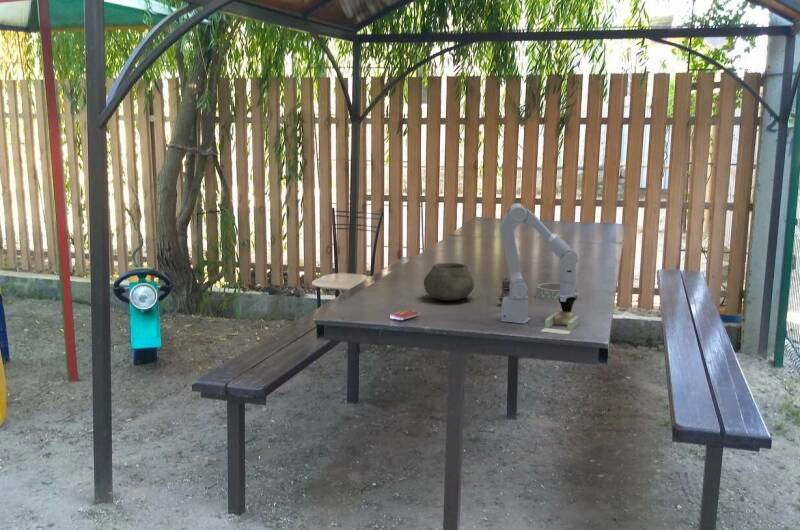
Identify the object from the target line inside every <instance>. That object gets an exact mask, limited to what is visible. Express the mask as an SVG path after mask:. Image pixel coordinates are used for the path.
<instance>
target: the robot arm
mask: <svg viewBox="0 0 800 530" xmlns="http://www.w3.org/2000/svg"><path fill="white" fill-rule="evenodd" d="M522 223H524V224H525V225H528V226H529V225H531V226H532V227H533V229H535V230H536V231H537V232H538V233H539V234H540V235H541V236H542V237H543V238H544V239H545V245H546V246H547V248H549V250H551V252H553V254H554V255H555V256H556V257H559V259H560V261H561V262H560V270H559V271H560V273H559V275H560V276H559V283H560V292H559V295H560V298H559V302H560V303H559V304H560V306H561V311H564V312H572V310H573V306H574V303H575V302H576V299H577V297H578V296H579V295H580V294H579V292H577V293H575V288H576V285H577V284H576V283H577V263H578V261H579V257H578V254H577V253H576V252H575V250H574V249H573V248H572V246H571V245H570V244H567V242H566V241H565V240H564V237H563V236H562V235H561V234H558V233H552V232H551V230H549V229H548V228H547V227H546V225H545V224H544V223H543V222H542V221H541V219H539V218H538V217H537V216H536V215H535V214H534V213H533V212H532V211H531V210H529V209H528V208H526V206H524V205H523V203H522V204H521V203H519V202H516V203H513V204H511V205H510V206H509V207H508V209H507V210H506V211H505V215H504V217H503V219H502V222H501V224H500V227H499V229H500V235H501V239H502V243H503V249H504V254H505V260H506V263H507V268H508V273H509V278H510V295H509V297H504V298H503V300H502V307H501V319H500V321H501V322H507V323H515V324H526V323H528V322H529V321H530V320H531V319H532V318H531V317H528V315H529V314H528V313H529V311H528V310H529V296H528V292H529V289H528V286H527V283H526V281H525V279H524V278H523V274H522V269H521V264H520V258H519V255H518V249H517V244H516V239H515V235H514V231H515V230H516V229H517V228H518V226H519V225H520V224H522ZM576 289H577V288H576ZM572 296H577V297H576V298H575V297H572Z"/></svg>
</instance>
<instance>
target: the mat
mask: <svg viewBox="0 0 800 530" xmlns="http://www.w3.org/2000/svg"><path fill="white" fill-rule="evenodd" d="M540 332H542V333H543V332H544V333H550V334H551V333H552V334H558V335H560V334H561V335H569V334H570V333H571V332H572V331H568V330H567V329H557V328H545V327H544V328H542V330H540Z"/></svg>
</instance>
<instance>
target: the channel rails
mask: <svg viewBox="0 0 800 530" xmlns="http://www.w3.org/2000/svg"><path fill="white" fill-rule="evenodd" d="M555 313H556V312H554V313H552V314H550V315H549V316H548V317H547V318H546V319H545V320H544V328H549V329H551V327H552V326H553V325H555V324H554V322H555ZM579 324H580V316H579V315H574V317H573V318H572V319H571V320H570V321H569V322H568V325H567V329H566V330H567V331H571V332H572V331H573V330H575V328H576V327H577V326H578V325H579Z"/></svg>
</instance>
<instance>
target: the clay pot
mask: <svg viewBox="0 0 800 530" xmlns="http://www.w3.org/2000/svg"><path fill="white" fill-rule="evenodd" d="M474 287H475V280H474V278H473V276H472V275H471V273H470V271H469V268H468V265H467V264H464V263H459V262H458V263H457V262H441V263H440V262H439V263H435V264H433V265H432V267H431V269H430V270H429V272H428V273H427V274H426V275H425V277H424V279H423V288H424V290H425V292H426V294H428V295H429V296H430V297H432V298H435V300H439V301H445V302H446V301H447V302H448V301H451V302H453V301H458V300H459V301H460V300H462V299H464V298H466V297H468V296H469V295H470V294H471V293H472V292H473V290H474Z"/></svg>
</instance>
